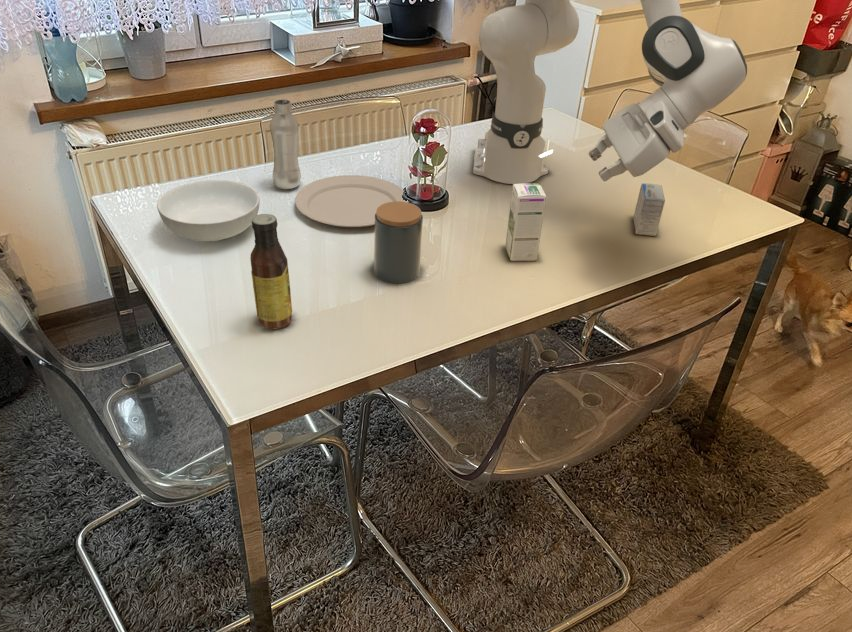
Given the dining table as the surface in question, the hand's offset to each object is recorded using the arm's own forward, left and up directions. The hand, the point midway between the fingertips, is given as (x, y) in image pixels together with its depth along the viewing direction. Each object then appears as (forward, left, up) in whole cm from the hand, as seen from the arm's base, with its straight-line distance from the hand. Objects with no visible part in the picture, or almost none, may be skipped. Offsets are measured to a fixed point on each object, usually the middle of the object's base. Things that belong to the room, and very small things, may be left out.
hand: (595, 167), depth 139 cm
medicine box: (-12, +18, -20) cm, 29 cm away
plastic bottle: (-34, -61, -20) cm, 72 cm away
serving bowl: (-13, -76, -20) cm, 79 cm away
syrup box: (-1, -12, -20) cm, 23 cm away
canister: (+5, -38, -19) cm, 43 cm away
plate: (-23, -46, -20) cm, 55 cm away
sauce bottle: (+21, -61, -20) cm, 67 cm away
